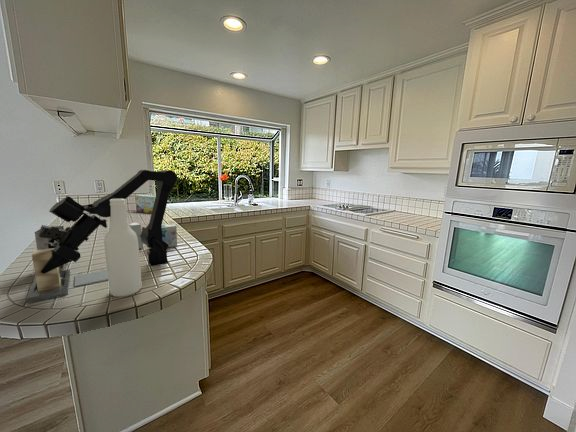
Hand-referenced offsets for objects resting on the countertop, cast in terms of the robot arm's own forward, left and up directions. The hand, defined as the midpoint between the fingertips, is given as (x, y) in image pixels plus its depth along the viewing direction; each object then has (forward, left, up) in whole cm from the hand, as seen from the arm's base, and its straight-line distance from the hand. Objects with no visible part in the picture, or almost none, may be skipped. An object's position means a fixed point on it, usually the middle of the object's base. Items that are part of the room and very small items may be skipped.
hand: (41, 270), depth 78 cm
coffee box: (-1, -21, -7) cm, 23 cm away
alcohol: (-20, +15, -7) cm, 26 cm away
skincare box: (-30, -34, -7) cm, 46 cm away
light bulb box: (-42, -29, -7) cm, 52 cm away
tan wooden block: (-1, 0, -7) cm, 7 cm away
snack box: (-54, -141, -7) cm, 151 cm away
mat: (-12, -3, -7) cm, 15 cm away
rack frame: (-1, -2, -7) cm, 8 cm away
